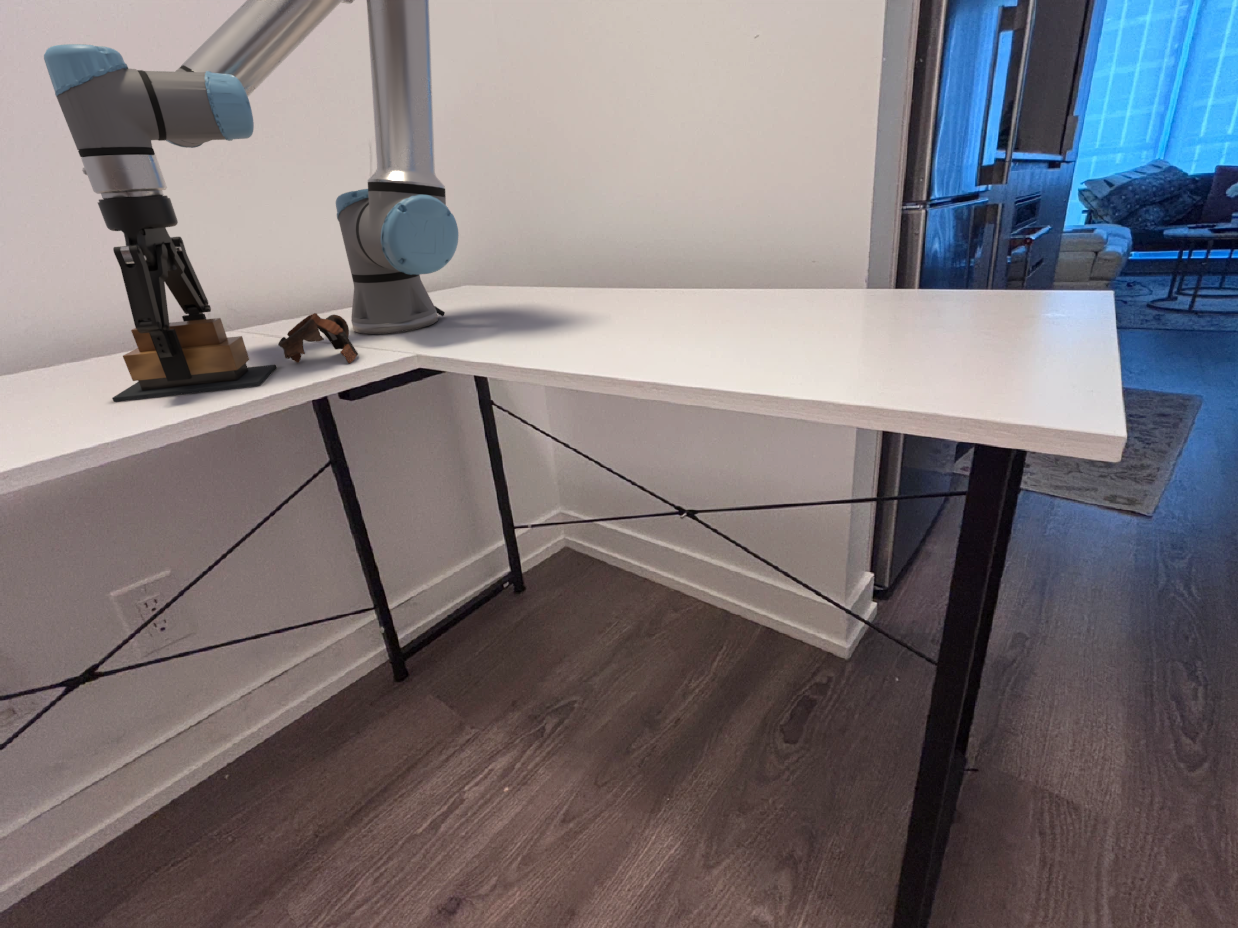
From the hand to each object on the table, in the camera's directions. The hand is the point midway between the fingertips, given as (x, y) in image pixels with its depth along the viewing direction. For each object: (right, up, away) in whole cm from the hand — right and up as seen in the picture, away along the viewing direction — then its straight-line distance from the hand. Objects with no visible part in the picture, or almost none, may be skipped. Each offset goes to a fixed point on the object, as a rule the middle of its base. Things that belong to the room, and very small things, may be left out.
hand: (195, 368), depth 87 cm
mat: (0, -2, +1) cm, 2 cm away
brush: (0, -2, +1) cm, 2 cm away
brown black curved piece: (+14, +2, +9) cm, 17 cm away
